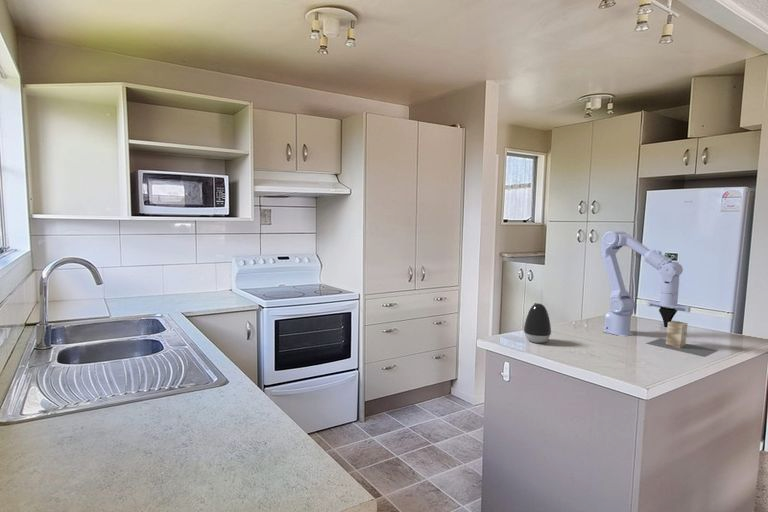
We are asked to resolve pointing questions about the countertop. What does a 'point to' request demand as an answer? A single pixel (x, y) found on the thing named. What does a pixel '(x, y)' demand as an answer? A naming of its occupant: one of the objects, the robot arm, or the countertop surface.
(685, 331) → the block
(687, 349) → the mat
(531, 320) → the black egg shape
